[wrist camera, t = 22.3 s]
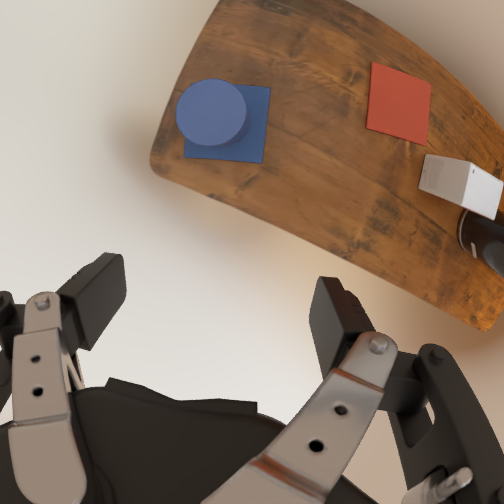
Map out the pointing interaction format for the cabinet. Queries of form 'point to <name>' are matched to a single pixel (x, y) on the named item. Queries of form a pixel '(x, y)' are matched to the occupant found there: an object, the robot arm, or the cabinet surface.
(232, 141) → the blue can
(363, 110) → the cabinet surface
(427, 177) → the small box
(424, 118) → the terracotta mat
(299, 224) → the cabinet surface
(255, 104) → the blue mat
